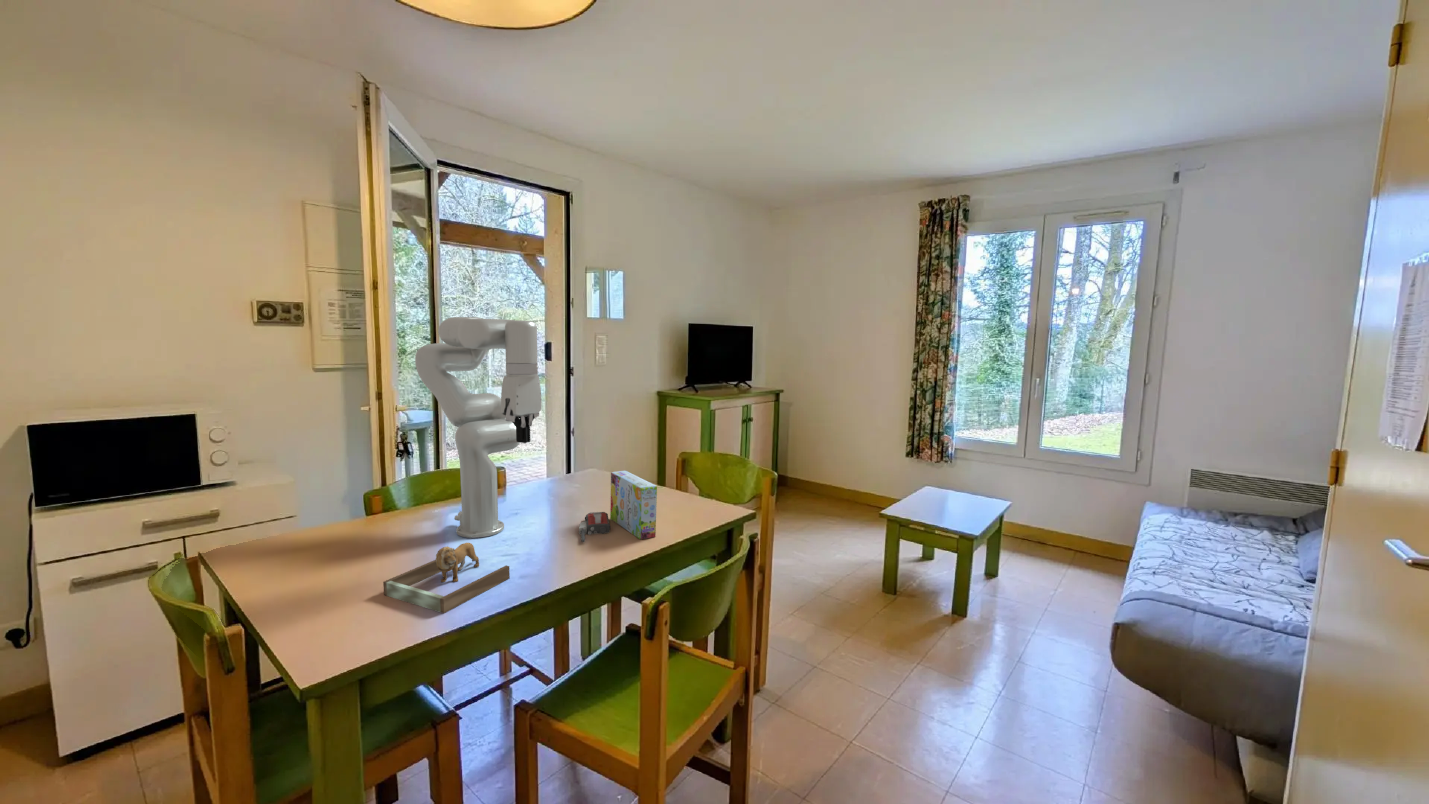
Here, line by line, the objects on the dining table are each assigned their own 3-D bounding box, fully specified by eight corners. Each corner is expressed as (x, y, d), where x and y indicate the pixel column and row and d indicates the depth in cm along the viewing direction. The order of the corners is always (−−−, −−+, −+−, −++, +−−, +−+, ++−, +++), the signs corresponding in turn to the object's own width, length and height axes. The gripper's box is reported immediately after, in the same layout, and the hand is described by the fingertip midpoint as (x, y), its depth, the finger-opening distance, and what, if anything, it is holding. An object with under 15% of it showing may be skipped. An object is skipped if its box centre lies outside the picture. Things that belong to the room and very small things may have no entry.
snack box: (657, 537, 157) (658, 485, 155) (639, 540, 154) (640, 488, 152) (625, 515, 174) (625, 469, 173) (608, 518, 171) (608, 471, 169)
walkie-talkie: (578, 521, 169) (579, 546, 150) (578, 507, 169) (578, 530, 149) (607, 520, 171) (611, 544, 152) (607, 506, 171) (611, 528, 152)
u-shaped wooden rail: (383, 594, 119) (383, 581, 119) (453, 564, 136) (452, 552, 135) (444, 613, 112) (443, 599, 112) (509, 578, 129) (509, 566, 128)
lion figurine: (454, 590, 123) (452, 551, 121) (430, 589, 123) (428, 550, 122) (483, 562, 137) (482, 527, 136) (462, 562, 137) (461, 527, 136)
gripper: (531, 368, 147) (532, 436, 149) (487, 371, 133) (489, 445, 136) (553, 369, 144) (554, 438, 146) (511, 372, 130) (513, 448, 133)
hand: (523, 441), depth 141 cm, fingers closed
